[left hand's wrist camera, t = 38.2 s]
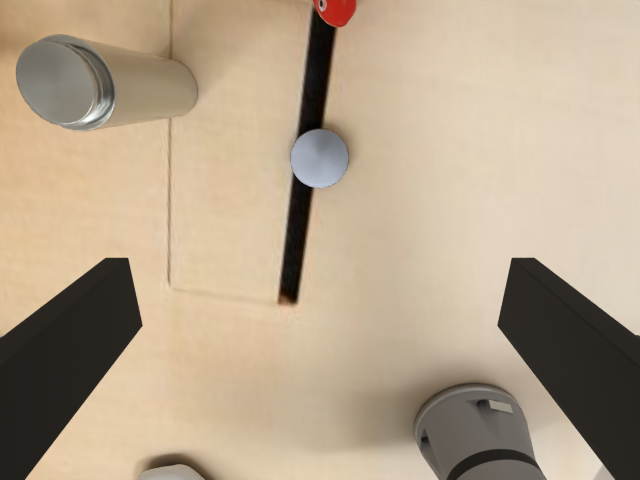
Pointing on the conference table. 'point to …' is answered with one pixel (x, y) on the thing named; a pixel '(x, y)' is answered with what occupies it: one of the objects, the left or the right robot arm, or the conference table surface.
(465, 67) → the conference table surface
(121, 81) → the bottle
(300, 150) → the lid
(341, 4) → the fish
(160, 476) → the projector
